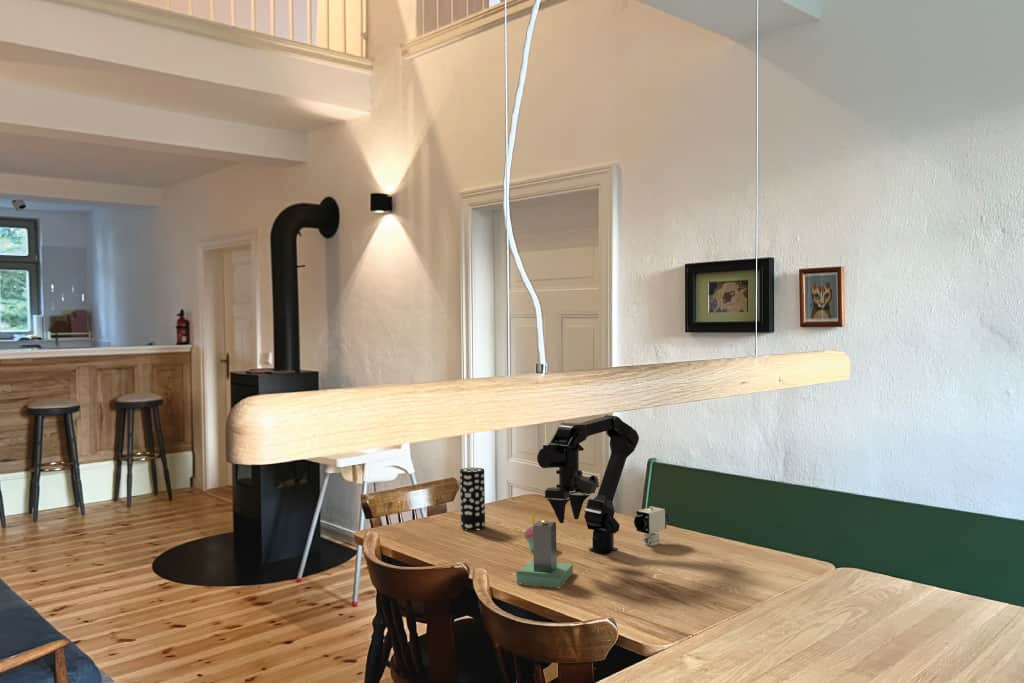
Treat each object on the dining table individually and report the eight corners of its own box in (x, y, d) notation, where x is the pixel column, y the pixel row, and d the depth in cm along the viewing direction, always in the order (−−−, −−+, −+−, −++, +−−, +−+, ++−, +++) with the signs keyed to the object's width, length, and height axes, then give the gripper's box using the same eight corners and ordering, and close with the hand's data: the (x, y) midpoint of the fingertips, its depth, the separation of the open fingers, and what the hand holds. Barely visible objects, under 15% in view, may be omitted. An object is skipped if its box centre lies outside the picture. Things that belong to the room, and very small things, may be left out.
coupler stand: (531, 569, 219) (531, 557, 219) (572, 573, 215) (572, 560, 215) (516, 583, 206) (516, 571, 206) (560, 588, 202) (559, 575, 202)
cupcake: (529, 554, 233) (528, 515, 233) (521, 546, 241) (520, 508, 241) (555, 551, 235) (555, 512, 235) (547, 544, 243) (546, 506, 243)
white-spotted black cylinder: (457, 526, 267) (456, 469, 266) (479, 523, 270) (478, 466, 270) (466, 532, 259) (465, 473, 259) (489, 529, 263) (488, 470, 262)
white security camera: (669, 542, 243) (669, 504, 243) (645, 550, 235) (644, 510, 235) (655, 539, 247) (655, 501, 247) (631, 546, 240) (631, 507, 239)
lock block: (539, 565, 214) (538, 518, 213) (556, 567, 212) (555, 519, 212) (533, 571, 209) (533, 522, 209) (551, 573, 207) (550, 523, 207)
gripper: (578, 470, 213) (579, 527, 211) (607, 466, 228) (608, 519, 227) (543, 468, 219) (543, 524, 217) (574, 464, 234) (574, 516, 233)
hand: (569, 521), depth 223 cm, fingers open, 9 cm apart
